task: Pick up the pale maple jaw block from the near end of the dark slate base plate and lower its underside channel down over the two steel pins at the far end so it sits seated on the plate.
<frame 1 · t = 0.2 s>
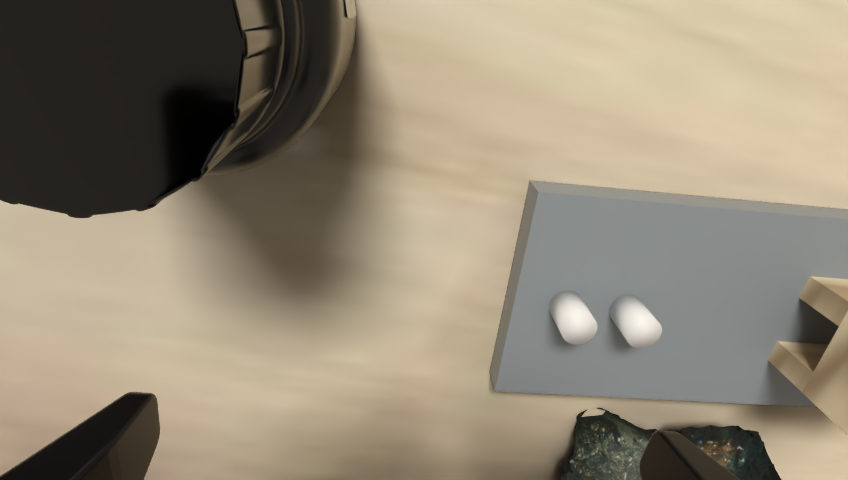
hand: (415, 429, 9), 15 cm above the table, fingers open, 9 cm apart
ink bottle: (242, 14, 19), on the table
jaw block: (842, 323, 25), point 1 cm above the table, touching pin plate
pin plate: (705, 299, 26), on the table
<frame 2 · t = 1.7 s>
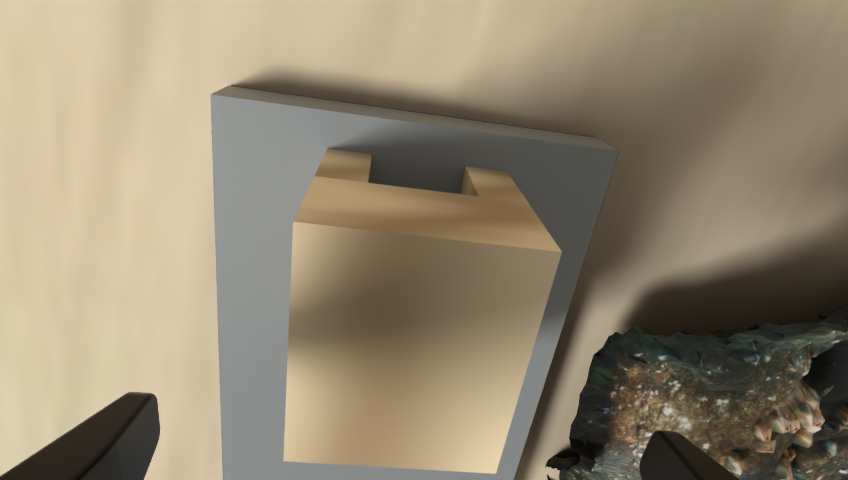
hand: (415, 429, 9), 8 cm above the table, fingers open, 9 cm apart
decorative rock: (769, 386, 21), on the table
jaw block: (404, 256, 15), point 1 cm above the table, touching pin plate
pin plate: (381, 388, 19), on the table
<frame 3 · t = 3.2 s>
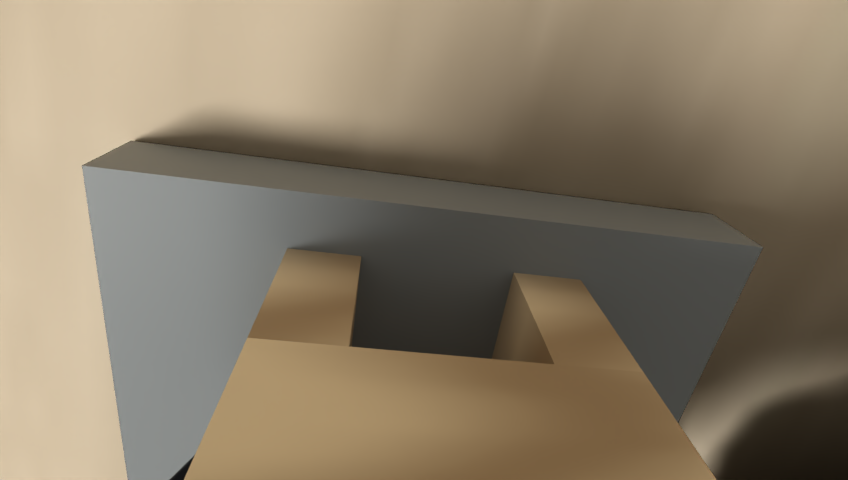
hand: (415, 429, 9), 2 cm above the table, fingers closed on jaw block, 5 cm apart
jaw block: (414, 400, 10), point 1 cm above the table, touching gripper, pin plate
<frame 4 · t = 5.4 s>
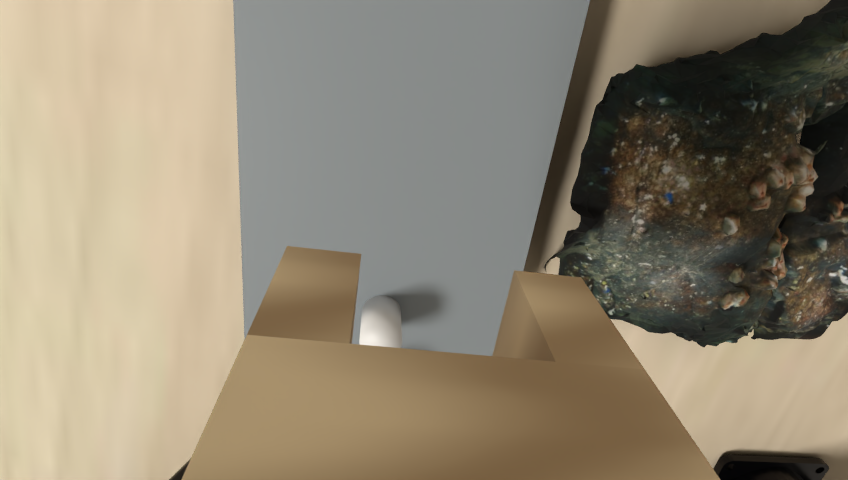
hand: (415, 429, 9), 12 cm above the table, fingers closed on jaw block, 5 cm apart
decorative rock: (763, 186, 21), on the table
jaw block: (414, 399, 10), point 11 cm above the table, touching gripper
pin plate: (393, 185, 20), on the table
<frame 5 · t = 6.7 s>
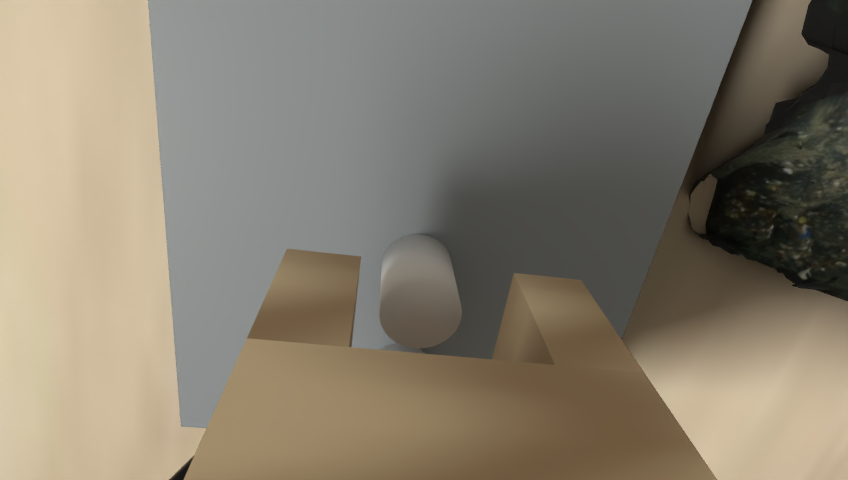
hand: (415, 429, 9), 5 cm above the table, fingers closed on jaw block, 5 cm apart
jaw block: (414, 401, 10), point 4 cm above the table, touching gripper
pin plate: (446, 29, 11), on the table
when the fingers open (3 cm above the table, at t = 7.9 s): jaw block stays where it is, resting on pin plate.
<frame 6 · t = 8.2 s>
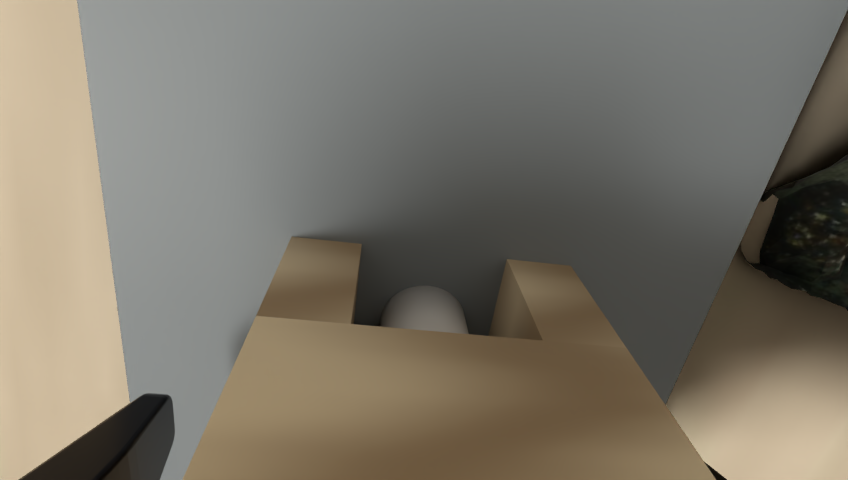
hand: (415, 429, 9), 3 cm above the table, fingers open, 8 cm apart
jaw block: (413, 383, 10), point 1 cm above the table, touching pin plate
pin plate: (459, 35, 9), on the table
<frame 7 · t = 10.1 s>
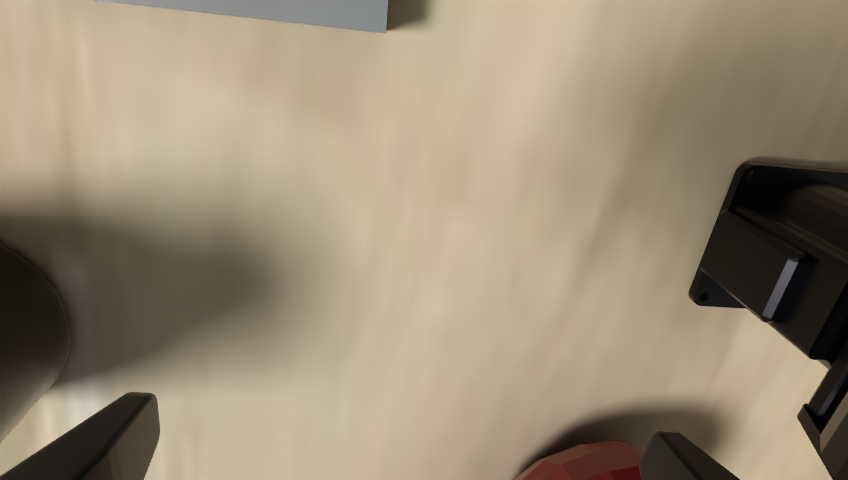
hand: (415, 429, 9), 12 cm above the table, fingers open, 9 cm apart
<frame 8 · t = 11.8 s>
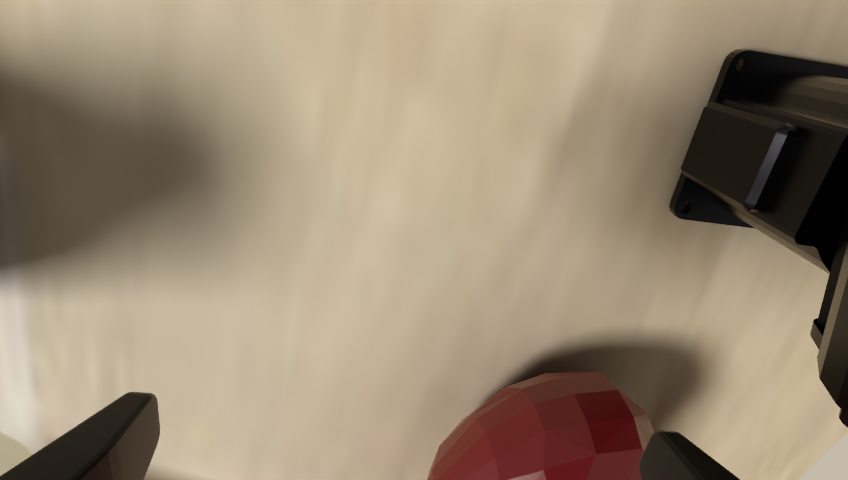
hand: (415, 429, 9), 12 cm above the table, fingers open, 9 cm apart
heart: (507, 426, 26), on the table
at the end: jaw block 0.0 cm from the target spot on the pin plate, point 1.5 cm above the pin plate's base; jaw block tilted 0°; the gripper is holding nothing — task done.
